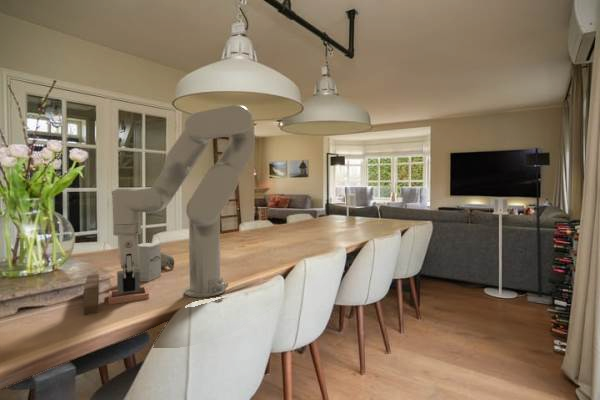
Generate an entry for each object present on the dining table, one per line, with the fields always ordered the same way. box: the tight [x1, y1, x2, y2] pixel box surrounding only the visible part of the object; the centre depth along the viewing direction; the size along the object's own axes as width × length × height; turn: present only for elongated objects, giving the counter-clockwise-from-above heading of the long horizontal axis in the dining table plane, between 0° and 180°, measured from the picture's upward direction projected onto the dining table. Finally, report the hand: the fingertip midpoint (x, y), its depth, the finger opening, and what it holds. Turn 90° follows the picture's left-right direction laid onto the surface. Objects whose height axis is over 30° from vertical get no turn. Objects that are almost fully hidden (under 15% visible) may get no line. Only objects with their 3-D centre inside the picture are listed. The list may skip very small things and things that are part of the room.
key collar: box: [108, 285, 150, 305], centre depth 103 cm, size 11×9×2 cm
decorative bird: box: [161, 251, 175, 271], centre depth 140 cm, size 5×16×8 cm, turn 59°
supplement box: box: [134, 242, 162, 282], centre depth 124 cm, size 7×7×13 cm
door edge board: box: [82, 273, 100, 316], centre depth 98 cm, size 20×3×6 cm, turn 29°
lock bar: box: [116, 269, 141, 295], centre depth 103 cm, size 6×4×6 cm, turn 119°
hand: (128, 288), depth 103 cm, fingers closed on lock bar, 4 cm apart
